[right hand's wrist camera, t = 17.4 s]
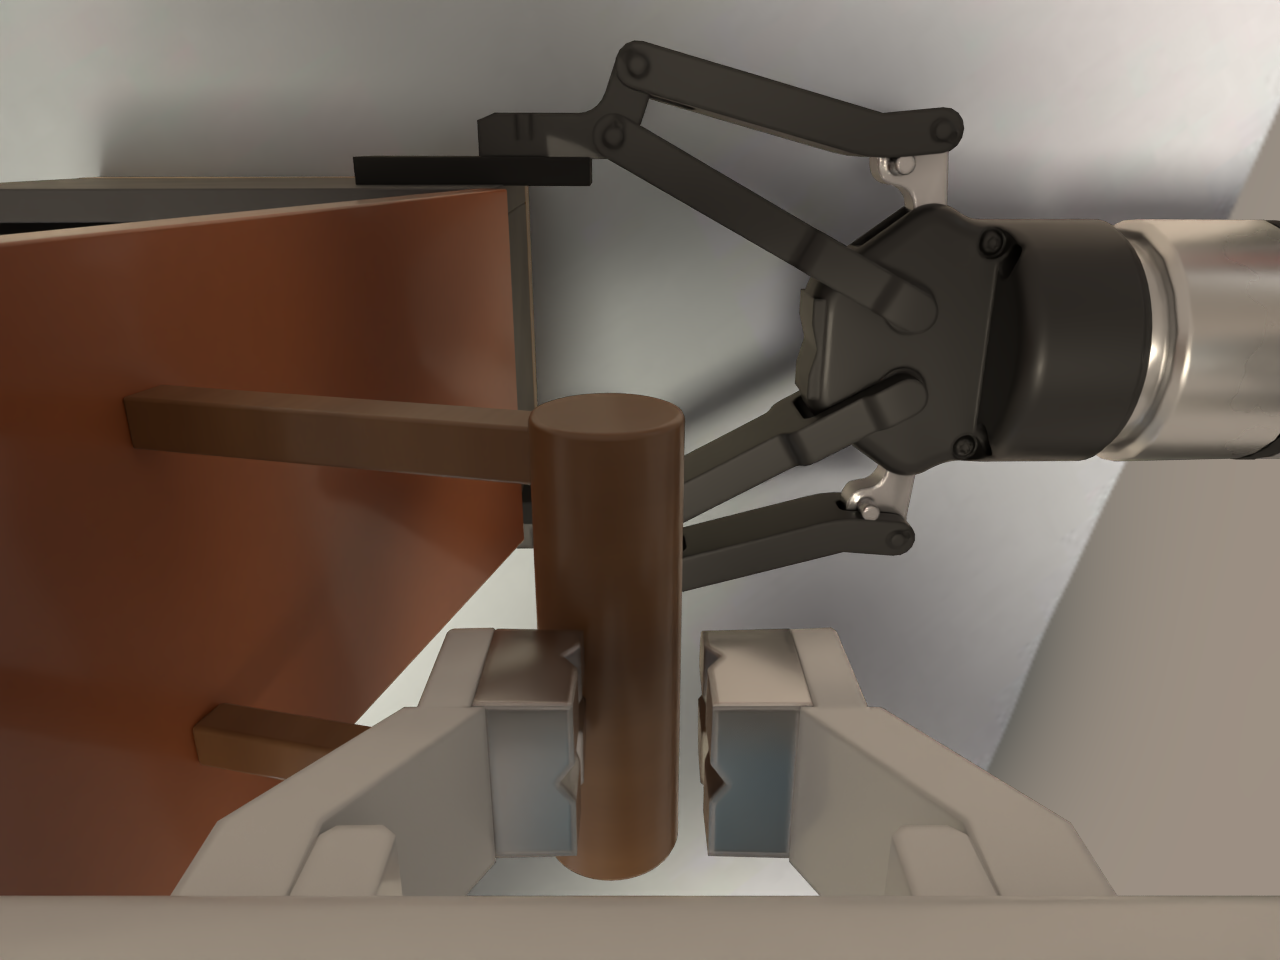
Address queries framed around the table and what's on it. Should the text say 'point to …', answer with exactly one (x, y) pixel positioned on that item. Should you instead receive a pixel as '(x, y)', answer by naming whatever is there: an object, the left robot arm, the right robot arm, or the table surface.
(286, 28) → the table surface
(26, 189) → the chest
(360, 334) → the lid
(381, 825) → the right robot arm
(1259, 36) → the table surface
